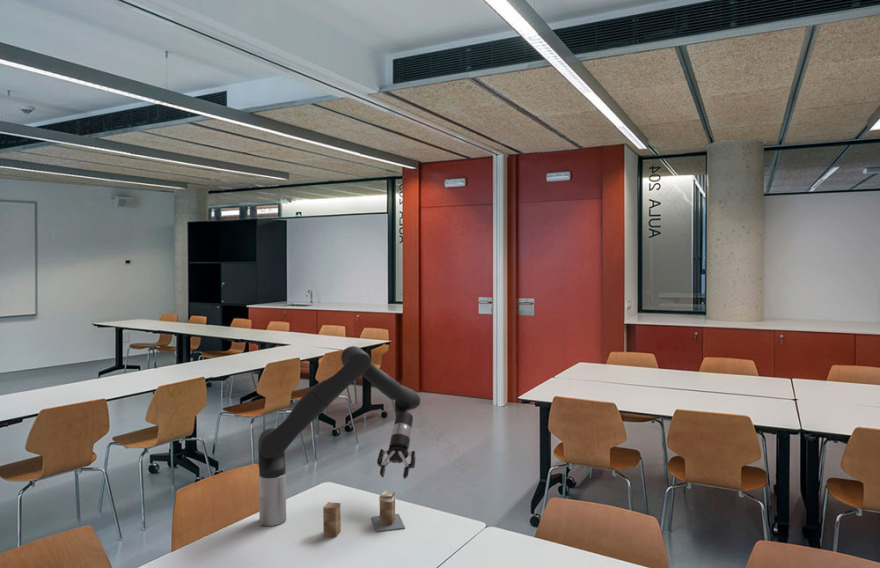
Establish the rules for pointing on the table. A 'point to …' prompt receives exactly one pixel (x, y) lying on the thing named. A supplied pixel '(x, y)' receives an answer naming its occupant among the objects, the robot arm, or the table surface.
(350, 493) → the table surface
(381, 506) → the label box
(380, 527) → the slate mat
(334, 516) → the plain box
